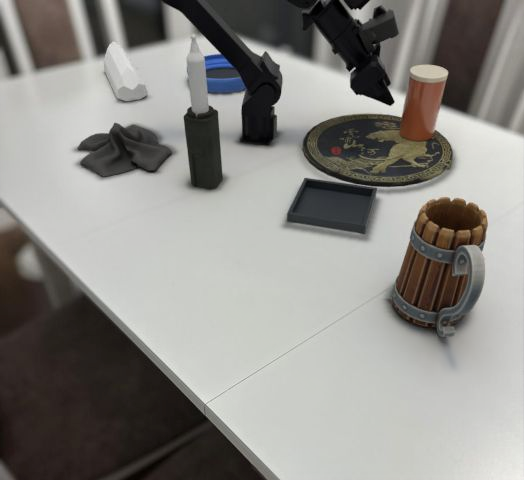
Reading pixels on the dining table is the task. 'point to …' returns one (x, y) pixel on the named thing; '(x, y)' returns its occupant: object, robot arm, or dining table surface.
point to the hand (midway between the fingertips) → (390, 94)
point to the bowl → (221, 75)
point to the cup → (422, 102)
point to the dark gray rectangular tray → (332, 205)
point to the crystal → (123, 74)
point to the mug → (442, 265)
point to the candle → (201, 126)
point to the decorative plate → (374, 151)
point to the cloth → (123, 150)
